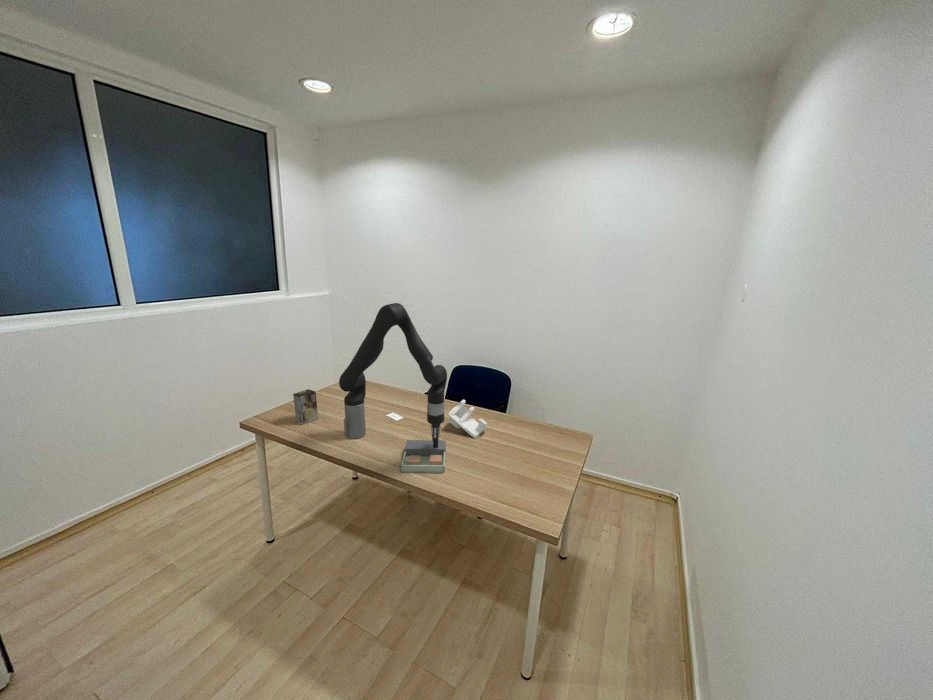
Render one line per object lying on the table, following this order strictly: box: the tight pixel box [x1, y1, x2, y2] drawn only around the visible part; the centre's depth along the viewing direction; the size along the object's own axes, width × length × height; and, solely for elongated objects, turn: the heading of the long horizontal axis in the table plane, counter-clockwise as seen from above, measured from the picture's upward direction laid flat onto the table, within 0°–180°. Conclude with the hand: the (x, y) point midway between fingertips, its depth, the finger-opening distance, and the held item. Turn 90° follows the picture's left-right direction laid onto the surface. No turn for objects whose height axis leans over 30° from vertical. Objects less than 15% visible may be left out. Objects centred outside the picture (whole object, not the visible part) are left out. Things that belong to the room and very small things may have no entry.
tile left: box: [408, 455, 421, 465], centre depth 151 cm, size 5×5×2 cm
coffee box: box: [292, 388, 319, 425], centre depth 187 cm, size 9×6×16 cm
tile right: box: [430, 455, 442, 465], centre depth 151 cm, size 5×5×2 cm
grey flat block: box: [404, 439, 447, 457], centre depth 161 cm, size 18×8×4 cm, turn 92°
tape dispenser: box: [447, 399, 488, 439], centre depth 182 cm, size 20×11×13 cm, turn 61°
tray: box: [400, 450, 446, 474], centre depth 151 cm, size 18×11×3 cm, turn 92°
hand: (435, 447), depth 156 cm, fingers closed
